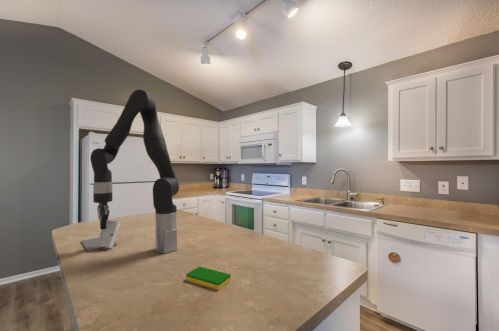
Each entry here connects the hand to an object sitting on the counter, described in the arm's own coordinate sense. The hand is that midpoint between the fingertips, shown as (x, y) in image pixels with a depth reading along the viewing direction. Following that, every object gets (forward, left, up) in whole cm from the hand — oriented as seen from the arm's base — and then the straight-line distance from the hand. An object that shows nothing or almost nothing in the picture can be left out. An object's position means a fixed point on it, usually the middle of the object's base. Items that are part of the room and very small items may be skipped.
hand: (103, 228), depth 108 cm
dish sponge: (-59, -19, -10) cm, 63 cm away
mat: (+11, 0, -10) cm, 15 cm away
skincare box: (-1, 0, -9) cm, 9 cm away
